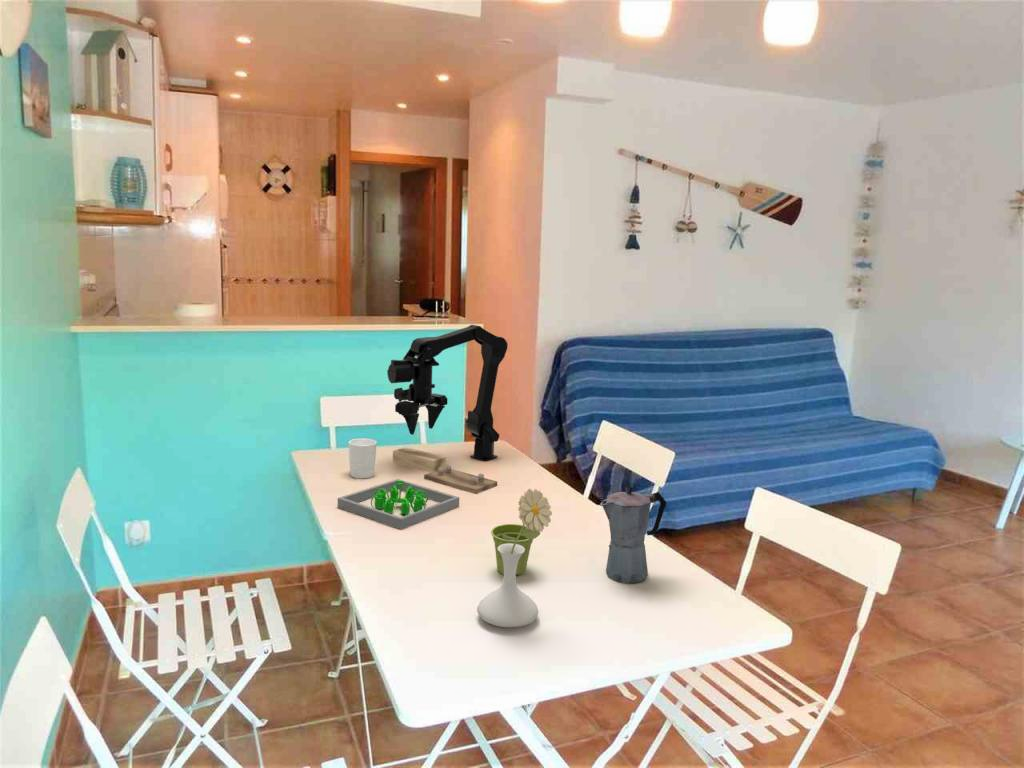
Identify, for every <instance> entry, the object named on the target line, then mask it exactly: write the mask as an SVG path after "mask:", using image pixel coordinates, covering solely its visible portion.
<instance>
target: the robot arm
mask: <svg viewBox="0 0 1024 768" xmlns="http://www.w3.org/2000/svg"><path fill="white" fill-rule="evenodd" d="M412 340H413V339H412ZM471 341H475V342H476V343H477V344H479V345H480V347H481V350H480V355H481V358H482V362H483V363H482V364H483V365H482V369H481V376H480V382H479V387H478V391H477V392H478V393H477V399H476V403H475V404H476V405H475V406H474V408H473V410H468V411H467V418H466V421H465V423H466V425H467V426H466V427H467V429H468V430H469V432H470V434H471V437H473V438H475V439H474V445H473V448H474V449H473V454H471V455H470V456H469V458H473V459H476V460H480V461H485V462H487V461H490V460H493V459H496V458H498V455H496V454H494V451H495V442H498V441H499V439H500V434H499V432H498V431H496V430H495V428H494V417H493V413H492V404H493V399H494V392H495V388H496V387H495V386H496V382H497V377H498V371H499V366H500V365H501V362H502V361H503V360H504V359H505V357H506V353H507V350H508V342H507V340H506V339H505V338H504V337H502V336H498V335H495V334H493V333H492V332H489V331H488V330H486V329H484V328H483V327H482V326H480V325H475V324H470V325H469V326H466V327H462V328H460V329H458V330H457V329H456V330H455V331H454V330H453V331H451V332H448V333H447V332H446V333H444V334H442V335H438V336H425V337H417V338H415V339H414V340H413V341H412V342H411V345H410V348H409V349H408V351H407V352H406V354H405V355H404V356H403V358H402V359H391V360H390V364H389V366H388V369H387V371H386V372H387V378H388V381H389V383H390V384H401V383H410V382H412V383H410V384H409V385H408V388H407V389H403V387H397V388H394V391H393V397H394V399H395V400H398V402H397V403H396V404H395V405H394V406H395V407H394V411H395V413H397V414H398V415H400V416H402V417H403V418H404V420H405V422H406V425H407V428H408V432H409V434H410V435H412V436H413V435H414V434H415V431H416V428H417V425H418V421H419V417H420V413H419V410H420V408H422V407H425V408H426V410H427V423H428V424H427V425H428V428H429V429H431V430H432V429H433V428H434V427H435V424H436V422H437V420H438V418H439V417H440V415H441V414H442V412H443V409H445V407H446V405H448V397H447V396H446V395H445V394H439V393H433V392H432V391H433V389H434V388H436V384H434V383H433V367H437V366H439V365H440V363H439V362H438V361H437V360H436V359H435V358H436V357H437V356H438V355H440V354H441V353H442V352H444V351H445V350H447V349H450V348H453V347H456V346H459V345H463V344H465V343H466V344H467V343H469V342H471Z"/></svg>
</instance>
